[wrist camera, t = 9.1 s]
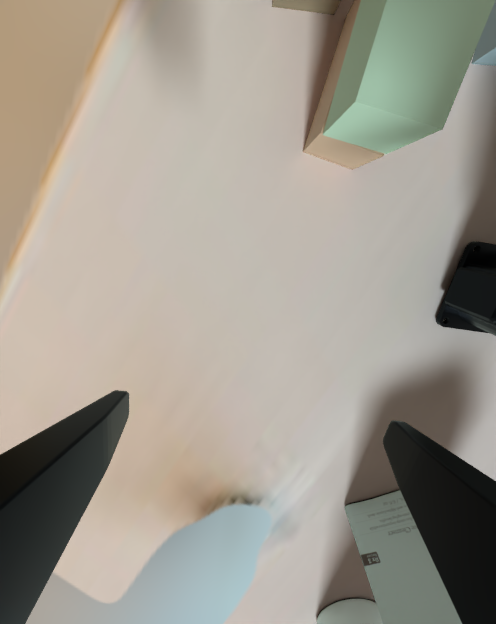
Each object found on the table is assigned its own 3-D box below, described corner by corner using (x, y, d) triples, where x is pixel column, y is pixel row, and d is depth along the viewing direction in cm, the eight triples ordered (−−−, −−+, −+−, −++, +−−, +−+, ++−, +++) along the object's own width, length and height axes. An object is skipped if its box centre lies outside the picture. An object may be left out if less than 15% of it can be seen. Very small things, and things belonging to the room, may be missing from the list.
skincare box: (416, 481, 27) (607, 763, 13) (426, 517, 29) (602, 797, 15) (338, 506, 28) (438, 794, 14) (353, 539, 30) (454, 823, 16)
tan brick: (346, 15, 15) (383, -55, 11) (401, 40, 15) (455, -20, 11) (302, 152, 17) (320, 132, 13) (352, 169, 17) (383, 156, 14)
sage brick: (376, -55, 11) (447, -197, 7) (451, -26, 11) (555, -147, 8) (322, 135, 13) (355, 101, 9) (386, 154, 14) (442, 128, 10)
